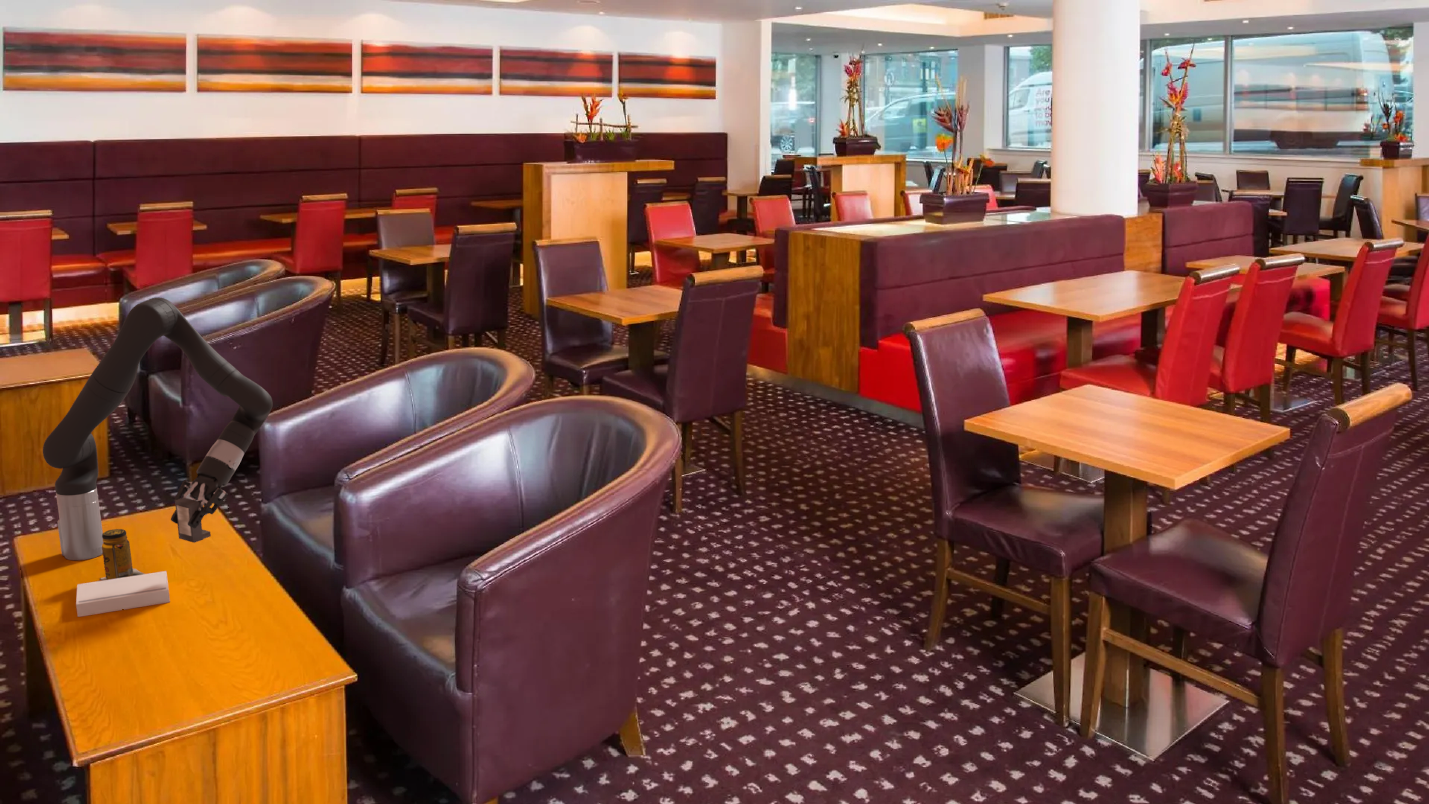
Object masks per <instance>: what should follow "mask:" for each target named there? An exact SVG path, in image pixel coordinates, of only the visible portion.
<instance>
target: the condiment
mask: <svg viewBox="0 0 1429 804" xmlns="http://www.w3.org/2000/svg"><path fill="white" fill-rule="evenodd" d="M102 538H103V544H102V552H103V554H102V557H103V565H104V573H105V576H104V577H100V578H99V579H100V580H101V581H104V580H110V579H117V578H123V577H130V576H137V575H143V574H145V573H144V572H141V571H140V570H138V569H137V568H133V561H132V553H131V545H130V541H129V539H128V535H127V531H126V530H125V529H123V528H115V529H109V530H106V531H104V532H103V534H102Z"/></svg>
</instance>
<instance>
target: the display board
mask: <svg viewBox="0 0 1429 804" xmlns="http://www.w3.org/2000/svg"><path fill="white" fill-rule="evenodd" d="M75 601H76V602H75V607H76V613H77V617H80V618H81V617H87V616H91V615H98V614H104V613H110V612H111V613H112V612H116V611H123V610H122V609H124V610H129V609H135V608H141V607H147V606H154V605H160V604H167V603H170V602H171V599H170V590H169V582H168V574H167V570H164V571H163V570H162V571H157V572H152V573H151V572H150V573H144V574H143V575H137V576H130V577H123V578H117V579H110V580H104V581H103V580H97V581H92V582H91V581H90V582H86V583H85V582H83V583H77V586H76V600H75Z"/></svg>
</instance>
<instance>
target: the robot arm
mask: <svg viewBox="0 0 1429 804" xmlns="http://www.w3.org/2000/svg"><path fill="white" fill-rule="evenodd" d="M161 337H165V338H166V339H168V340H170V341H171V342H172V343H174V344H175V345H176V346H177V347H178V348H180V350H181V351H182V352H183V354H185V356H186V358H187V359H188V360H189V362H190V365H191V366H192V368H193V369H194V370H195V372H196V374H198V376H199V377H200V378H201V379H202V380H203V381H204V382H205V383H207V384H208V385H209V386H210V387H211V388H212V389H214V390H215V391H216V392H217V393H218V394H220V395H221V396H223V397H226V398H230V399H231V400H232V401H234V402H235V404H237V405H239V406H238V409H237V410H236V412H235V413H234V415H233V416H232V419H231V421H230V422H228V424H227V425H226V426H225V427H224V428H223V430H222V432H221V433H220V434H219V437H218V438H217V439H216V441H214V444H212V446H211V447H210V449H209V451H208V452H207V453H206V455H205V456H204V458H203V459H202V461H201V463H200V464H199V466H198V467H197V469H196V474H197V476H196V478H195V479H194V480H193V481H188V480H187V479H184V480H183V481H182V482H181V484H180V487H179V488H178V491H177V493H176V495H175V497H174V499H173V502H174V503H175V500H178V499H181V498H187V499H191V500H195V501H199V505H198V507H197V510H198V511H195V512H194V514H193V516H192V517H191V518H190V520H189V522H188V525H189V526H190V527H191V528H196V527H197V526H198V525H199V523H200V522H201V523H202V520H203V518H204V517H205V516H207V515H208V514H209V515H213V514H214V513H215V512H216V511H217V510H218V508H219V507H220V506H221V505H222V503H223V502H224V501H225V500H226V498H227V497H228V496H229V495H228V492H226V491H225V490H223V489H222V488H225V487H227V485H228V483H229V482H230V480H231V479H232V477H233V475H234V474H235V472H236V470H237V469H238V467H239V465H240V463H241V462H242V459H243V457H244V455H245V453H246V452H247V451H248V449H249V447H250V446H251V444H252V442H253V439H254V436H255V435H256V434H257V433H258V432H259V430H260V429H261V427H262V426H263V424H264V423H265V421H266V419H268V417H269V415H270V413H271V411H272V409H273V407H274V406H273V398H272V396H271V394H269V392H268V391H266V389H264V388H263V387H262V386H261V385H259V384H258V383H256V382H255V381H253V380H252V379H250V378H248V377H246V376H245V375H244V374H242V373H241V372H240V371H239V370H238V369H237V368H236V367H235V366H233V364H231V363H230V362H229V361H227V359H226V358H224V357H223V356H222V355H221V354H219V353H218V351H216V350H215V348H213V347H212V346H211V345H210V344H209V343H208V342H207V341H206V339H205V338H203V337H202V335H201V334H200V333H199V332H198V330H196V329H195V327H194V326H193V325H192V324H191V323H190V322H189V320H188V319H187V318H186V317H185V316H184V315H183V313H182V312H181V311H180V310H179V309H178V308H177V306H176V305H174V303H172V302H171V301H170V300H169V299H167V298H164V297H152V298H149V299H147V300H144V301H142V302H139V303H137V304H136V305H135V306H133V307H132V308H131V309H130V310H129V312H128V314H127V315H126V318H125V319H124V322H123V323H122V325H121V328H120V331H119V332H118V334H117V336H116V338H115V339H114V341H113V343H112V345H111V346H110V347H109V349H108V350H107V351H106V353H104V355H103V357H102V359H101V360H100V362H99V363H98V364H97V365H96V367H95V368H94V370H93V371H92V373H91V375H90V376H89V377H88V379H87V380H86V382H85V384H84V386H83V387H82V389H81V390H80V392H79V393H78V394H77V397H76V399H75V400H74V401H73V403H72V405H71V406H70V408H69V410H68V412H67V413H66V415H65V416H64V417H63V418H62V420H61V421H60V422H59V423H58V424H57V426H56V427H55V428H54V429H53V431H52V432H50V433H49V435H48V436H47V437H46V439H45V441H44V442H43V446H42V454H43V455H42V456H43V459H44V461H45V462H46V463H47V465H48V466H50V467H52V468H55V469H61V473H60V475H59V476H58V477H57V479H56V480H55V482H54V490H55V495H56V502H57V503H56V504H57V511H58V518H59V519H58V520H57V528H58V529H57V530H58V536H59V542H60V551H61V556H64V558H65V559H67V560H69V561H83V560H89V559H94V558H97V557H99V556H102V555H103V552H102V544H103V538H102V534H103V533H104V532H103V526H102V525H103V524H102V517H101V507H100V502H99V495H98V488H97V487H98V486H97V481H98V477H99V462H98V461H99V460H98V447H97V444H96V440H95V437H94V436H93V434H92V432H93V431H94V430H95V429H96V428H97V427H98V426H99V425H100V424H101V423H102V422H104V421H105V420H106V419H107V418H108V417H109V416H110V415H111V414H112V413H113V412H114V411H116V409H118V408H119V406H120V405H121V403H122V402H123V401H124V399H125V398H126V397H127V396H128V393H130V391H131V389H132V387H133V385H134V383H135V381H136V379H137V375H138V370H139V369H138V368H139V365H140V362H141V360H142V358H143V357H144V356H145V354H146V352H148V350H149V349H150V348H151V347H152V345H153V344H154V343H155V342H157V340H158V339H160V338H161ZM213 504H214V505H213ZM170 521H171V522H172V523H174V524H177V525H178V523H177V513H176V509H175V510H174V512H173V514H171V517H170Z"/></svg>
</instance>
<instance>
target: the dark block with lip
mask: <svg viewBox="0 0 1429 804" xmlns="http://www.w3.org/2000/svg"><path fill="white" fill-rule="evenodd" d="M174 503H175V510H176V513H177V523H178V524H177V532H178V539H179V540H183V541H186V542H190V543H193V544H195V543H197V542H201V541H203V540H204V539H207V538H210V537H211V536H212V535H211V531H210V530H205V529H203V525H202V524H203V523H202V521H201V522H200V523H199V525H198V526H197V527H196V528H191V527H190V526H189V525H188V522H189V520H190V518H191V517H192V516H193V514H194V512H195V511H198V510H197V507H198V505H199V501H195V500H191V499H187V498H183V497H181V498H180V499H178V500H175V502H174Z"/></svg>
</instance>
